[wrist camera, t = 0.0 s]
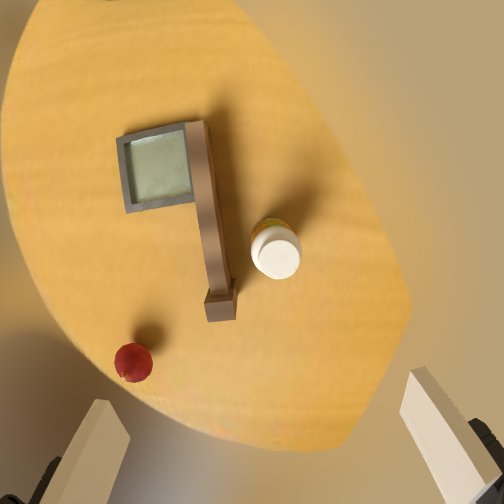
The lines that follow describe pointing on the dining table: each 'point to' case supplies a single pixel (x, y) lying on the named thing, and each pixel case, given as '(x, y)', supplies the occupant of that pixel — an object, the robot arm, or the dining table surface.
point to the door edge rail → (210, 225)
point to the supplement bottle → (275, 248)
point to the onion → (133, 363)
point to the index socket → (155, 168)
